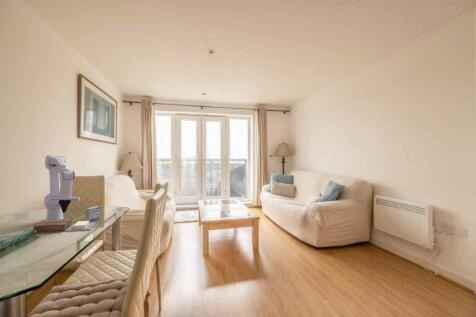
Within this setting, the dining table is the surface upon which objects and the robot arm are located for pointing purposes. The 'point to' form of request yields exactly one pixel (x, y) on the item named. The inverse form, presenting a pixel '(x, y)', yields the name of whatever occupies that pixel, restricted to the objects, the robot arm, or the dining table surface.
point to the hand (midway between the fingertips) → (64, 212)
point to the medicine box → (92, 213)
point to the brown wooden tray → (53, 225)
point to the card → (81, 224)
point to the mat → (82, 228)
